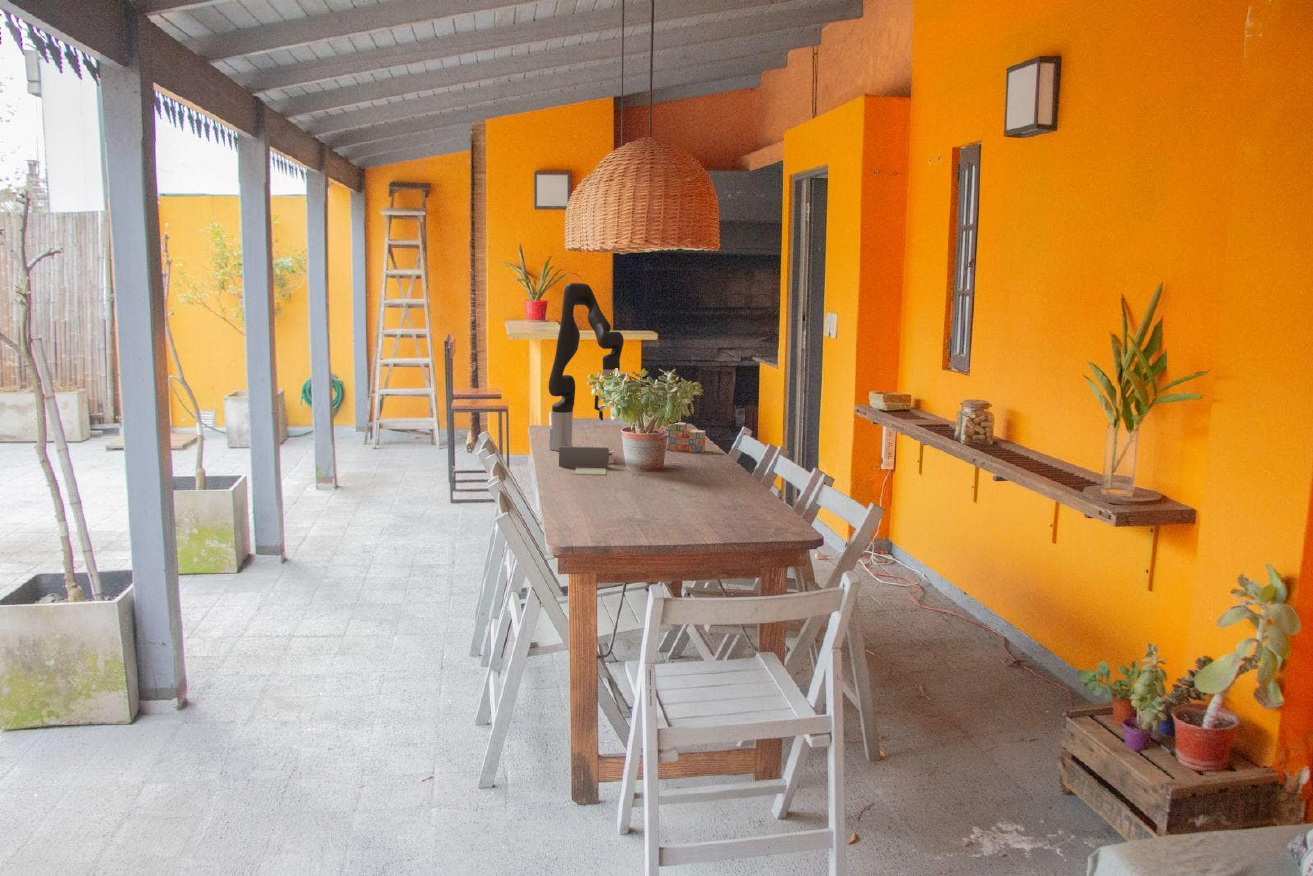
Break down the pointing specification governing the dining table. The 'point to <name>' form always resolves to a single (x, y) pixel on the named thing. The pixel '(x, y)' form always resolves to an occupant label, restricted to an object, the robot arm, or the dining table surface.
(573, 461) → the charcoal wall
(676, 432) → the stack of blocks
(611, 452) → the marked cube
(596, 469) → the sage pad
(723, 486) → the dining table surface
